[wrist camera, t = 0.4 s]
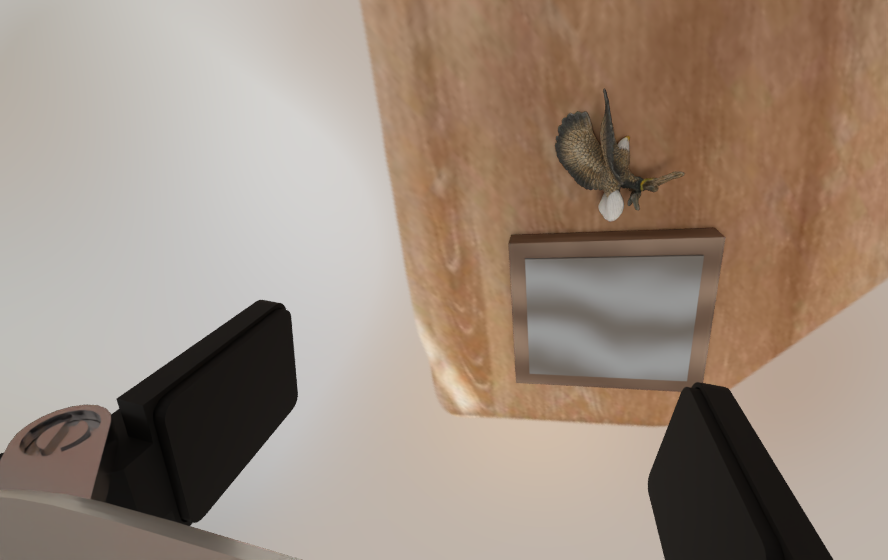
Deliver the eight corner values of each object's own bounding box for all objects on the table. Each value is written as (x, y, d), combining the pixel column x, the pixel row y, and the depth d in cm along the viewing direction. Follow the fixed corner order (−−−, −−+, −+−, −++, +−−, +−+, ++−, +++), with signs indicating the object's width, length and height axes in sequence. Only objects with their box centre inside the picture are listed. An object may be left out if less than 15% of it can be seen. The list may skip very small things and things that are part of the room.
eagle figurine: (692, 141, 34) (616, 65, 32) (680, 203, 31) (594, 123, 29) (617, 184, 41) (549, 123, 38) (599, 239, 37) (524, 176, 35)
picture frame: (511, 234, 42) (508, 244, 39) (714, 227, 38) (726, 238, 35) (518, 368, 48) (515, 384, 46) (693, 376, 44) (702, 394, 41)
